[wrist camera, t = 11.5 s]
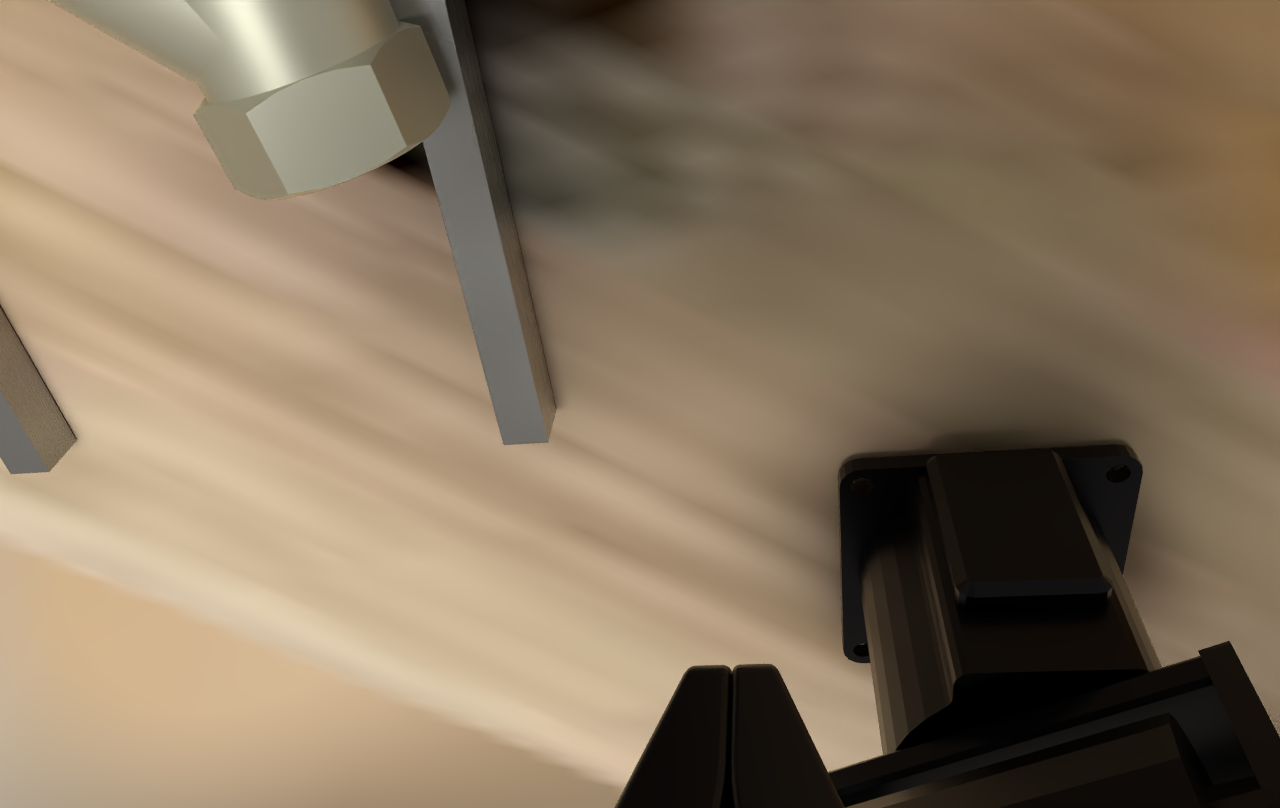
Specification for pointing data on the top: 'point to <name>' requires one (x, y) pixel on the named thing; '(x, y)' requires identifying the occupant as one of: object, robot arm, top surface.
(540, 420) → the grey metal bars
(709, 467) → the top surface
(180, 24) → the pipe fitting
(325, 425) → the top surface
